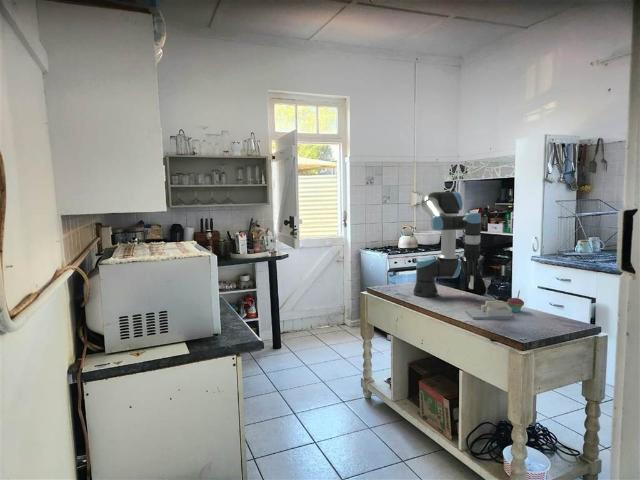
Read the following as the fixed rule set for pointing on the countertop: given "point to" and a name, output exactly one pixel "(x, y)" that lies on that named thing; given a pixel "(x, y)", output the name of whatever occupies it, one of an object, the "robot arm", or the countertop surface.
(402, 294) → the countertop surface
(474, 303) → the countertop surface
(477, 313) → the rail board
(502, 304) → the panel block
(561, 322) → the countertop surface
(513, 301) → the cupcake
